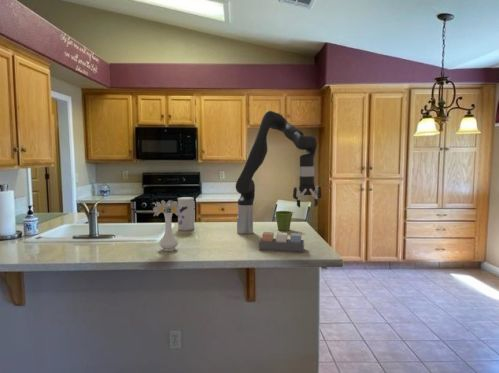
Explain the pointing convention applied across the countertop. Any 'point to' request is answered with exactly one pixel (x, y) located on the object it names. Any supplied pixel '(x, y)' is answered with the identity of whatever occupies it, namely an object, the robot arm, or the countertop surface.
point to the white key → (281, 237)
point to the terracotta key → (268, 236)
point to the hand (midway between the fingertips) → (307, 206)
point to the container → (186, 213)
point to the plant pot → (283, 220)
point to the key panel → (281, 246)
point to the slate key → (295, 238)
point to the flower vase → (167, 223)
